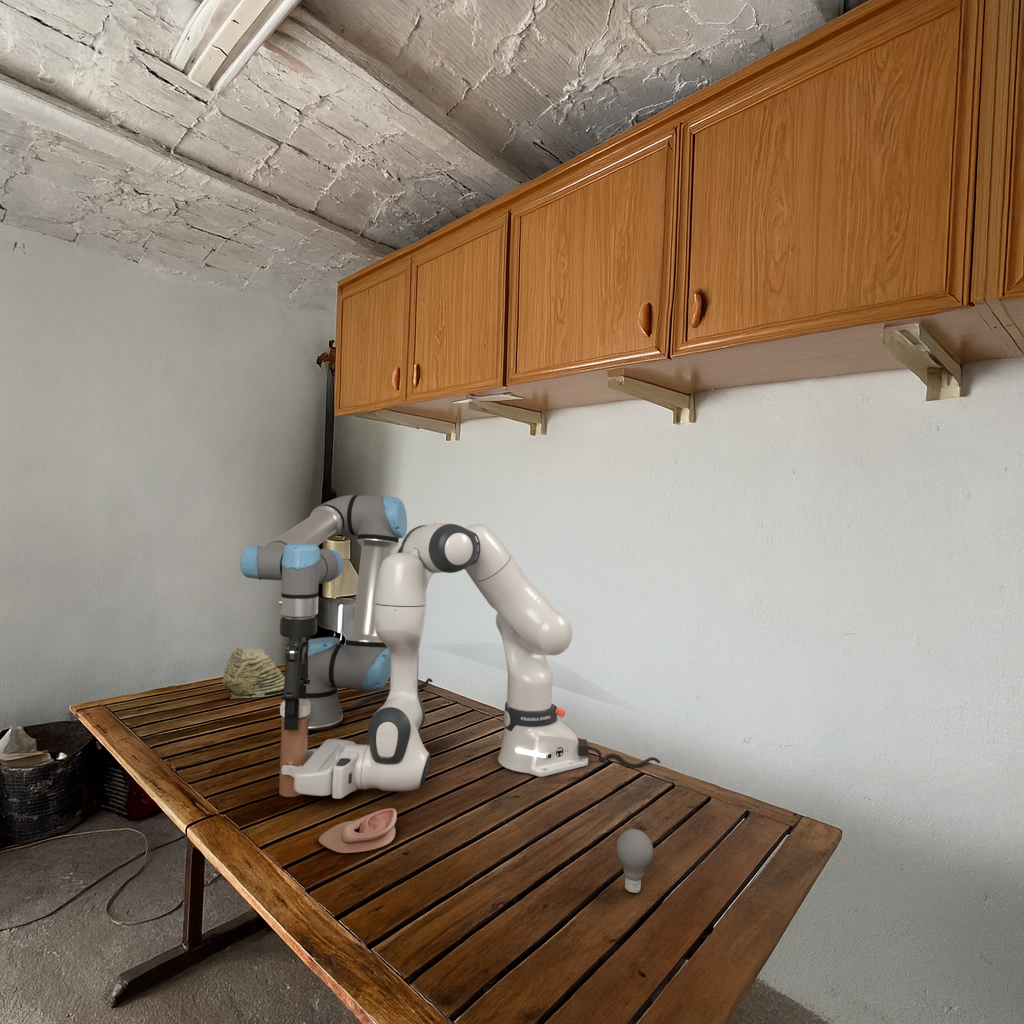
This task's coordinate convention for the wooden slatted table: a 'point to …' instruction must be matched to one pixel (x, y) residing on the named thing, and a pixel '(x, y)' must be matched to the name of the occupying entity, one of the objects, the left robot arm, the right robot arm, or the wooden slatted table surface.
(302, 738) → the jar
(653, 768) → the wooden slatted table surface
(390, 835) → the anatomical model
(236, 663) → the fossil
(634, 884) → the light bulb
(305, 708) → the lid
